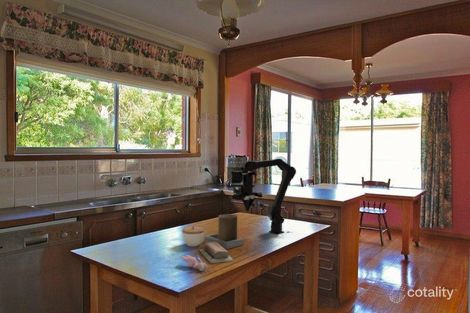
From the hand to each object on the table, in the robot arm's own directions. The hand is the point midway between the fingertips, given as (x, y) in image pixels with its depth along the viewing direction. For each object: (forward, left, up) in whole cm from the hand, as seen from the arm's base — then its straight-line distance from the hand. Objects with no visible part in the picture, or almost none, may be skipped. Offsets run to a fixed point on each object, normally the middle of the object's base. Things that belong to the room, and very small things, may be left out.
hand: (247, 211), depth 191 cm
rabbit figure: (+54, +23, -13) cm, 60 cm away
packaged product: (+38, +17, -14) cm, 44 cm away
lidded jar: (+35, -3, -13) cm, 37 cm away
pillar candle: (+19, +5, -13) cm, 24 cm away
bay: (+21, +5, -13) cm, 25 cm away
